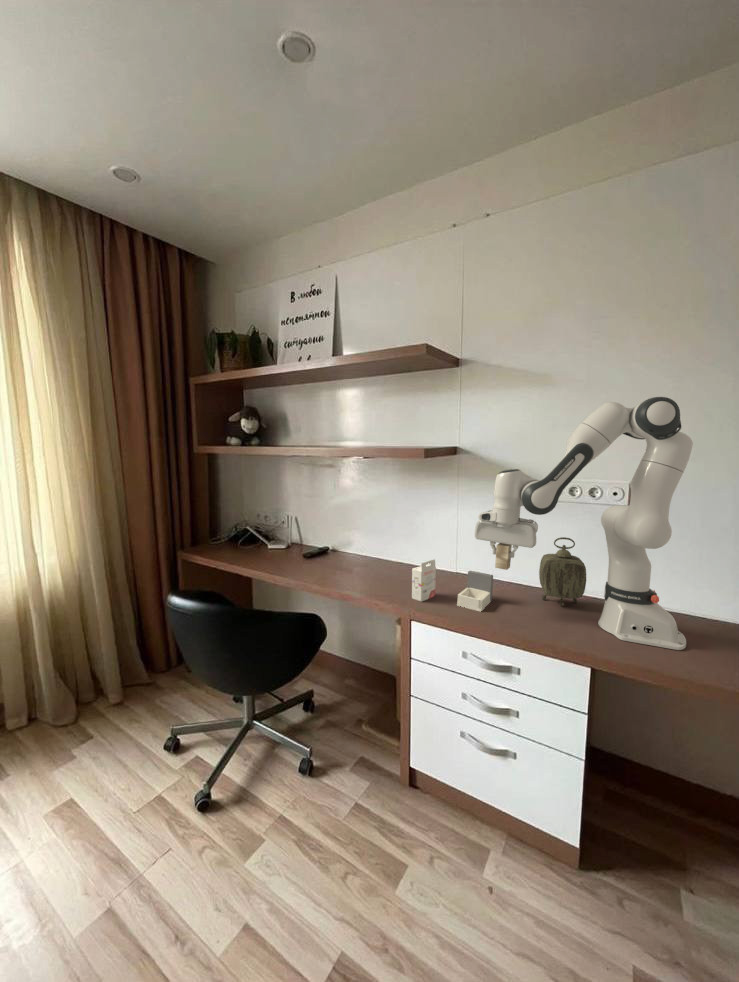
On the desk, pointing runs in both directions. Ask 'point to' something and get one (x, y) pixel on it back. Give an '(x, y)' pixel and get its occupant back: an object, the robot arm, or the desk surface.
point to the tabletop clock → (562, 574)
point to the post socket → (476, 591)
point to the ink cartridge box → (424, 581)
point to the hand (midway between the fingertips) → (503, 555)
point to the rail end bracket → (503, 556)
